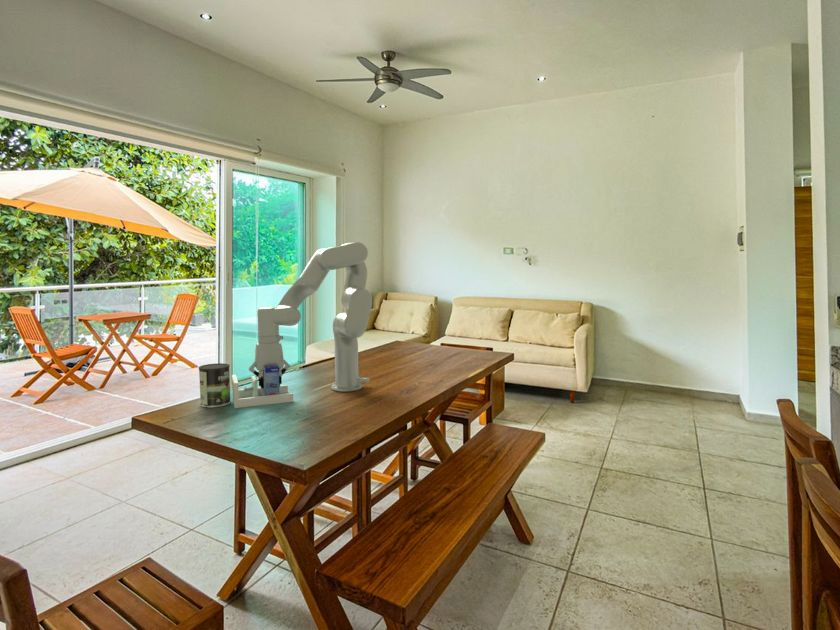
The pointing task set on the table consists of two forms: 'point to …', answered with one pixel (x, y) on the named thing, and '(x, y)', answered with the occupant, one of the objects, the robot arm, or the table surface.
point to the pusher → (253, 387)
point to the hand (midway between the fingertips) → (270, 386)
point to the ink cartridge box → (270, 380)
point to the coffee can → (214, 385)
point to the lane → (259, 400)
